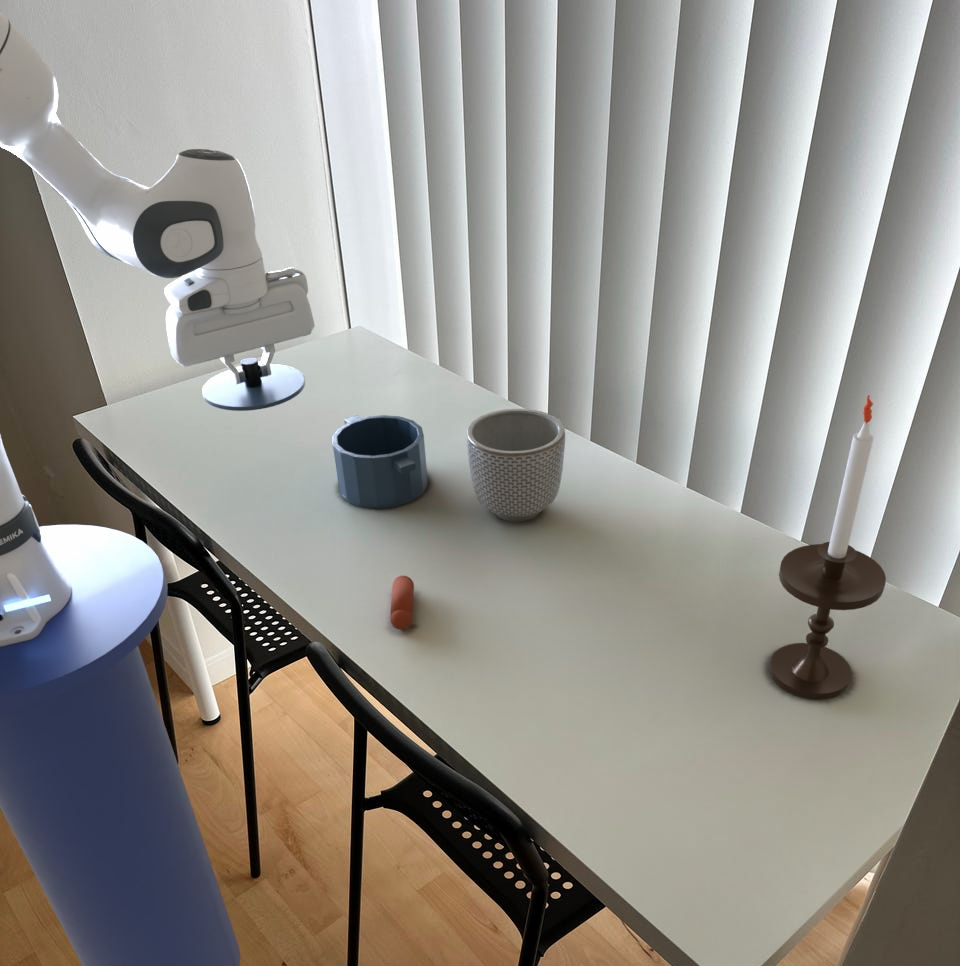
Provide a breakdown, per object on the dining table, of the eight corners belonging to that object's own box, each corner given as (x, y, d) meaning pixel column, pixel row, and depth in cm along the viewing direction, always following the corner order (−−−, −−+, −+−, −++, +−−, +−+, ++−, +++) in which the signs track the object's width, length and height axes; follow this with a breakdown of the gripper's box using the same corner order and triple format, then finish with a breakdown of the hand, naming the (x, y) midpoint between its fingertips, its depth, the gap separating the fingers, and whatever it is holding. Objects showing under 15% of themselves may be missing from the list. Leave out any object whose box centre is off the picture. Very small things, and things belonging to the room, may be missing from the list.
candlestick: (810, 717, 109) (879, 430, 87) (741, 665, 116) (789, 387, 94) (878, 681, 113) (960, 398, 91) (808, 633, 120) (868, 360, 98)
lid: (224, 424, 134) (217, 392, 131) (190, 387, 143) (182, 356, 140) (322, 396, 139) (317, 365, 136) (282, 362, 149) (277, 332, 146)
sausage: (409, 636, 123) (414, 619, 122) (387, 632, 123) (392, 614, 121) (411, 590, 131) (416, 573, 129) (391, 586, 130) (395, 569, 129)
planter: (583, 506, 145) (585, 426, 137) (520, 546, 137) (519, 464, 129) (513, 476, 153) (512, 399, 144) (450, 513, 145) (445, 433, 137)
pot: (371, 526, 143) (365, 474, 138) (318, 473, 156) (310, 424, 151) (452, 498, 148) (448, 447, 143) (393, 449, 161) (388, 401, 156)
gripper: (295, 258, 137) (310, 353, 146) (152, 291, 130) (177, 389, 138) (313, 270, 133) (327, 367, 142) (167, 304, 125) (191, 405, 134)
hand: (252, 378), depth 140 cm, fingers closed on lid, 2 cm apart
